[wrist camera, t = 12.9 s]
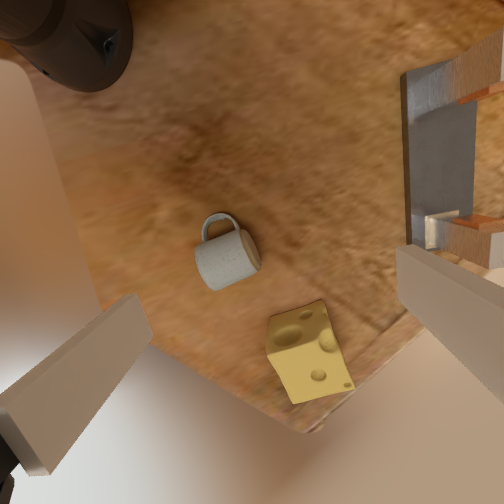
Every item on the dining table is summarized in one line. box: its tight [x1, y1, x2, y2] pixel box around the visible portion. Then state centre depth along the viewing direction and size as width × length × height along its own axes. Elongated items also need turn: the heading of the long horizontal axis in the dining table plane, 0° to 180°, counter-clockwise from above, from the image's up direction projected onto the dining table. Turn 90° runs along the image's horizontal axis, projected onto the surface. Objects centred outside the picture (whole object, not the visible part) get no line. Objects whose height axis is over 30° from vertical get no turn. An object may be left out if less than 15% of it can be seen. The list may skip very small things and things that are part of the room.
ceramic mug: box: [195, 213, 261, 291], centre depth 36 cm, size 11×8×8 cm
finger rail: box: [400, 26, 504, 252], centre depth 28 cm, size 24×8×12 cm, turn 13°
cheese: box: [266, 300, 355, 404], centre depth 39 cm, size 10×11×10 cm
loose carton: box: [430, 214, 504, 269], centre depth 29 cm, size 5×3×10 cm, turn 12°
